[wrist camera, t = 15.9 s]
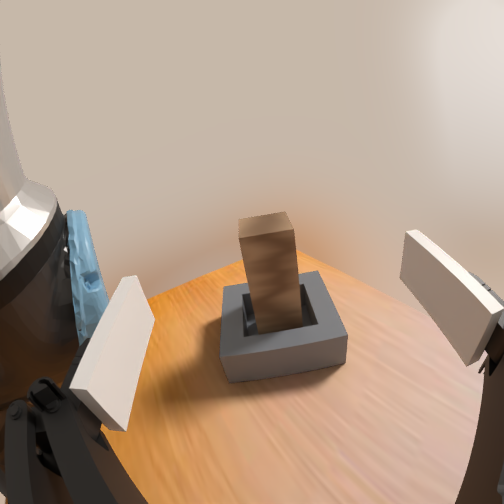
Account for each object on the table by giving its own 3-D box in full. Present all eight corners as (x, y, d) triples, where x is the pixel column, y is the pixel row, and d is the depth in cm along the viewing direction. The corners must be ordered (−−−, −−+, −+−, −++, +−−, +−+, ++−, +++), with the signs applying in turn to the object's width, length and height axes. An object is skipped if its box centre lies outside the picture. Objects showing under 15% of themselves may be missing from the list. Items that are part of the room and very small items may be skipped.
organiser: (229, 383, 29) (219, 357, 27) (230, 312, 40) (223, 286, 38) (345, 363, 28) (347, 334, 26) (319, 297, 40) (317, 270, 38)
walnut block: (261, 347, 32) (238, 238, 25) (258, 320, 36) (238, 219, 30) (303, 340, 31) (293, 229, 25) (296, 314, 36) (285, 211, 30)
